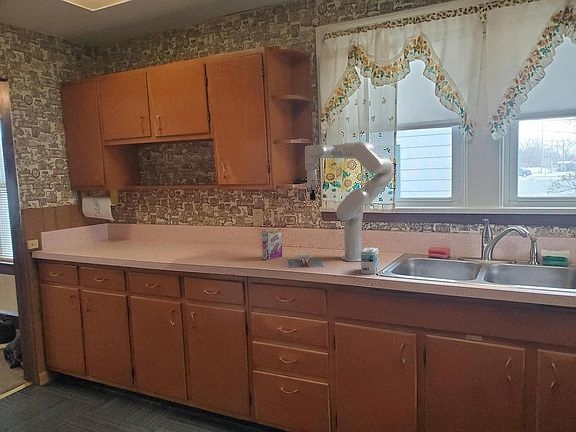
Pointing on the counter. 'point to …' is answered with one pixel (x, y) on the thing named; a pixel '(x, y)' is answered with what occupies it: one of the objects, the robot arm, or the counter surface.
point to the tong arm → (303, 261)
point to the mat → (298, 264)
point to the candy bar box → (271, 244)
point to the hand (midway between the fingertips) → (312, 200)
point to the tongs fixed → (306, 262)
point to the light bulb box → (369, 260)
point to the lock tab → (303, 256)
